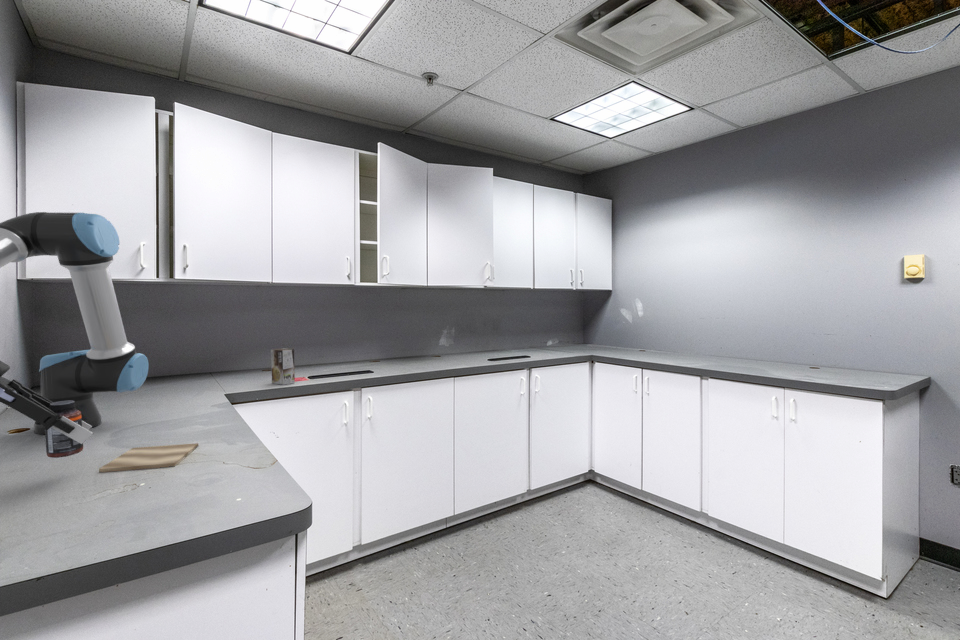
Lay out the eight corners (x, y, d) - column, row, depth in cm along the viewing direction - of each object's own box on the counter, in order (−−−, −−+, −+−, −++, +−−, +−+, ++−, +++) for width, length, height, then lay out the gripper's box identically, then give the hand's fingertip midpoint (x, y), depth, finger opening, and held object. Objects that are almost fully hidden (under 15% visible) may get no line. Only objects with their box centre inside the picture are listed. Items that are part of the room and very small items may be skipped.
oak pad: (132, 450, 116) (132, 447, 116) (198, 446, 119) (198, 443, 119) (99, 472, 101) (98, 468, 101) (174, 466, 105) (174, 462, 105)
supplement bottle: (55, 451, 99) (52, 400, 99) (88, 447, 101) (86, 398, 101) (40, 460, 94) (37, 406, 93) (75, 456, 96) (73, 404, 95)
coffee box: (295, 383, 212) (294, 348, 211) (283, 385, 206) (282, 350, 206) (283, 381, 217) (282, 347, 216) (271, 383, 211) (270, 349, 211)
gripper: (-39, 378, 93) (71, 438, 105) (-59, 393, 79) (71, 461, 91) (-4, 350, 97) (100, 412, 109) (-17, 360, 83) (104, 430, 94)
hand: (86, 434), depth 100 cm, fingers closed on supplement bottle, 6 cm apart
